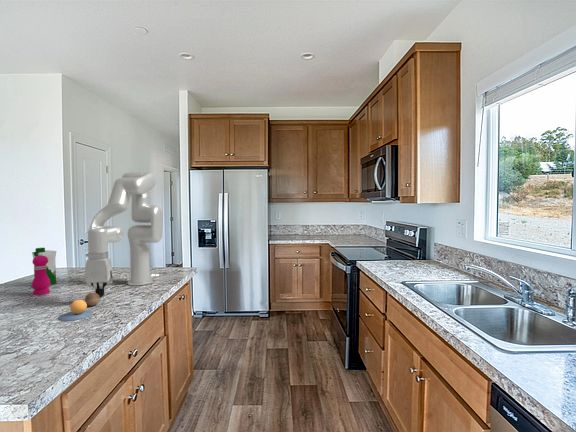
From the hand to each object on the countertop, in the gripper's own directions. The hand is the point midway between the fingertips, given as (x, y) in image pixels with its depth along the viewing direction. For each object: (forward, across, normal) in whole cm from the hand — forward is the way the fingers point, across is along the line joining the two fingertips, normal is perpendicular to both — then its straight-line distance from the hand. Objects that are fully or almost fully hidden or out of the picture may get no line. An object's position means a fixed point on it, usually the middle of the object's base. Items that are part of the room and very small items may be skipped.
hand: (100, 297), depth 143 cm
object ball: (-1, 0, -16) cm, 16 cm away
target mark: (+2, 0, -18) cm, 19 cm away
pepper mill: (+2, -35, +15) cm, 38 cm away
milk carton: (+3, -45, +33) cm, 56 cm away
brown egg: (-1, 0, -6) cm, 6 cm away
